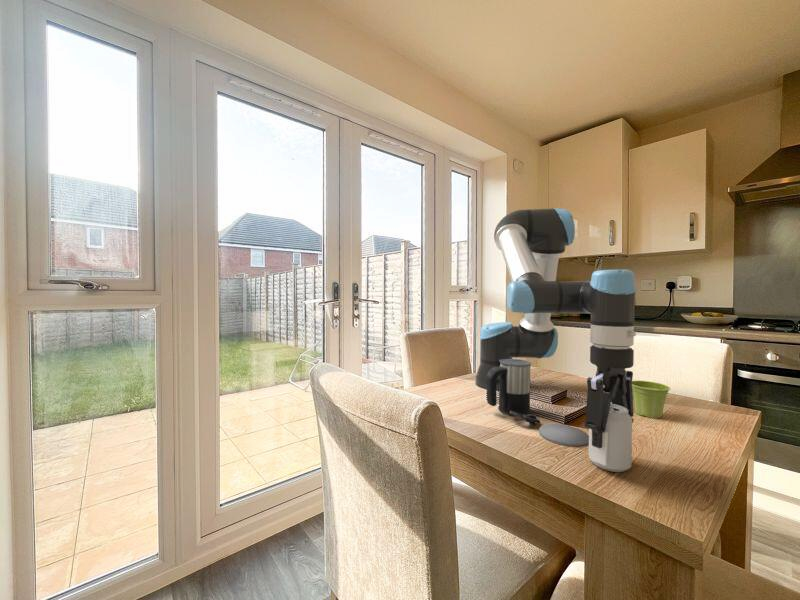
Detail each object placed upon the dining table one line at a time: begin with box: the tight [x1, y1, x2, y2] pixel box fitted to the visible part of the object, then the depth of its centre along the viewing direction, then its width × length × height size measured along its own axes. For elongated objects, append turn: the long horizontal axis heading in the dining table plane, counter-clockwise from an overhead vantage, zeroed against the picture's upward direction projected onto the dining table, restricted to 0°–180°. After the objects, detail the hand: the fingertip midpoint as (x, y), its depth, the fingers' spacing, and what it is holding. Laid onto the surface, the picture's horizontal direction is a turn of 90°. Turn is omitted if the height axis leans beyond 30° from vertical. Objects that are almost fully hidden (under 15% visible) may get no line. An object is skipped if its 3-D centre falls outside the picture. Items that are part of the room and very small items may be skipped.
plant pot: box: [632, 380, 671, 419], centre depth 97 cm, size 9×9×9 cm
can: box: [588, 403, 633, 473], centre depth 70 cm, size 8×8×12 cm
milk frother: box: [486, 358, 541, 426], centre depth 96 cm, size 14×16×15 cm
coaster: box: [539, 423, 589, 447], centre depth 83 cm, size 11×11×1 cm
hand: (609, 456), depth 70 cm, fingers closed on can, 7 cm apart
